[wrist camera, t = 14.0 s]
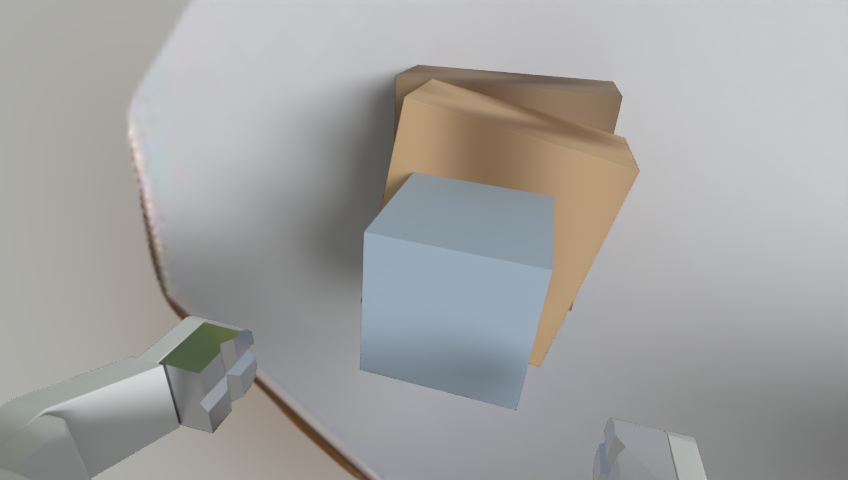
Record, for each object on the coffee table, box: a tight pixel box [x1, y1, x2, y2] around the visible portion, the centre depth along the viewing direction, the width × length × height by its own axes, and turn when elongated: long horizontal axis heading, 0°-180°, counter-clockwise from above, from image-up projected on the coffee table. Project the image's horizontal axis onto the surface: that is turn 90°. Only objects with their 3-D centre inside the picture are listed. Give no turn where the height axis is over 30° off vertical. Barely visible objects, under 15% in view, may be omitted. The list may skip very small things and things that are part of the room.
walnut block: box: [394, 65, 623, 311], centre depth 23 cm, size 9×10×4 cm
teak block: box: [361, 79, 640, 367], centre depth 19 cm, size 8×9×4 cm
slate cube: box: [360, 172, 555, 410], centre depth 15 cm, size 5×5×5 cm
